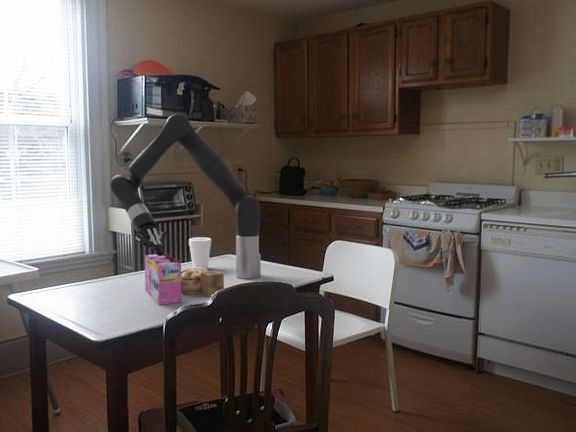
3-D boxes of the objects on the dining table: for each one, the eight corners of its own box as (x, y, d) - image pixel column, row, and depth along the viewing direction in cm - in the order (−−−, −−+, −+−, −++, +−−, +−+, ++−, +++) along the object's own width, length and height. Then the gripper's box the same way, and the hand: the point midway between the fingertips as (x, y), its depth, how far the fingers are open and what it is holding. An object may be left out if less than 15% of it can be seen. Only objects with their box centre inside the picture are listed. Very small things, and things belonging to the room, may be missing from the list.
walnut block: (215, 291, 199) (215, 270, 198) (223, 295, 194) (223, 273, 193) (201, 294, 195) (200, 272, 194) (208, 297, 190) (208, 275, 189)
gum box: (143, 288, 202) (143, 253, 200) (164, 286, 205) (164, 251, 204) (159, 305, 181) (158, 265, 179) (182, 302, 184) (181, 263, 182)
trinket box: (209, 283, 212) (208, 263, 211) (217, 292, 198) (217, 271, 197) (174, 285, 207) (174, 265, 206) (180, 295, 193) (180, 274, 192)
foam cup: (209, 270, 233) (208, 241, 231) (187, 270, 233) (187, 240, 231) (212, 266, 242) (212, 237, 241) (191, 265, 242) (191, 237, 241)
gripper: (129, 213, 194) (149, 250, 187) (160, 210, 204) (180, 245, 197) (121, 226, 198) (141, 263, 192) (152, 223, 208) (172, 258, 201)
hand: (161, 254), depth 194 cm, fingers closed
